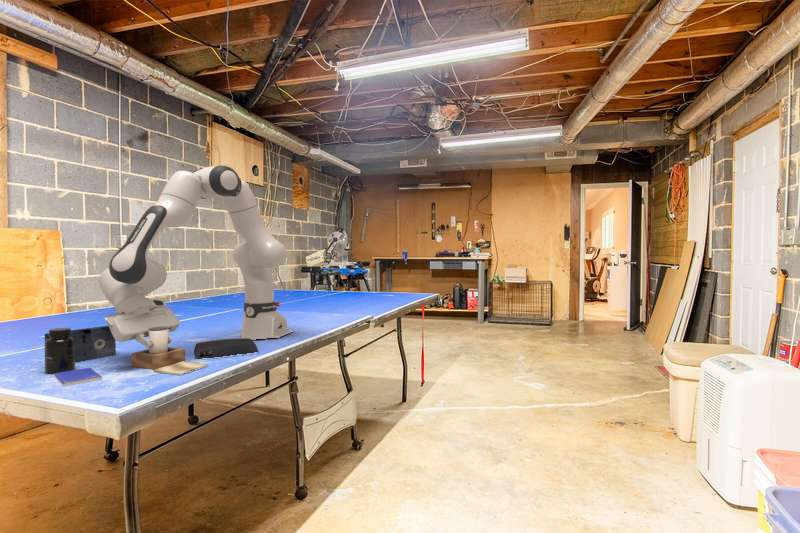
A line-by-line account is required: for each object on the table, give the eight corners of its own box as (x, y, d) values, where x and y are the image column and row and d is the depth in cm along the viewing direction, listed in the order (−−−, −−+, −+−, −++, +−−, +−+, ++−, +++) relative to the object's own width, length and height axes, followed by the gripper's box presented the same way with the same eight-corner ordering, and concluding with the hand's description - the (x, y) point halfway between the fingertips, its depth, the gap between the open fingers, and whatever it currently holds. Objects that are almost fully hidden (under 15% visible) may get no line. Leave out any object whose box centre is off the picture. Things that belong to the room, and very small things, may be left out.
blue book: (102, 375, 111) (90, 367, 120) (63, 382, 105) (54, 373, 114) (102, 381, 111) (91, 372, 120) (63, 388, 105) (54, 378, 114)
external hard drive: (193, 353, 143) (193, 341, 143) (252, 347, 153) (252, 336, 152) (195, 362, 132) (195, 349, 132) (259, 355, 141) (259, 343, 141)
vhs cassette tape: (112, 354, 140) (112, 324, 139) (116, 355, 138) (116, 325, 138) (44, 366, 124) (43, 333, 124) (48, 368, 122) (47, 334, 122)
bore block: (160, 358, 133) (160, 346, 133) (185, 361, 130) (184, 348, 130) (131, 366, 124) (131, 353, 124) (156, 369, 121) (156, 356, 121)
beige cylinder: (159, 361, 130) (159, 325, 130) (171, 362, 129) (171, 327, 128) (145, 365, 125) (144, 328, 125) (157, 366, 124) (157, 329, 123)
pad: (182, 363, 128) (182, 361, 128) (208, 366, 125) (208, 364, 125) (153, 372, 119) (153, 370, 118) (180, 375, 115) (180, 373, 115)
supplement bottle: (39, 374, 115) (38, 331, 115) (52, 368, 122) (51, 327, 122) (68, 373, 117) (67, 330, 117) (80, 366, 124) (79, 326, 123)
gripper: (107, 308, 119) (133, 344, 116) (168, 300, 138) (192, 332, 135) (96, 322, 121) (121, 359, 118) (158, 313, 140) (181, 344, 137)
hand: (160, 344), depth 127 cm, fingers closed on beige cylinder, 5 cm apart
